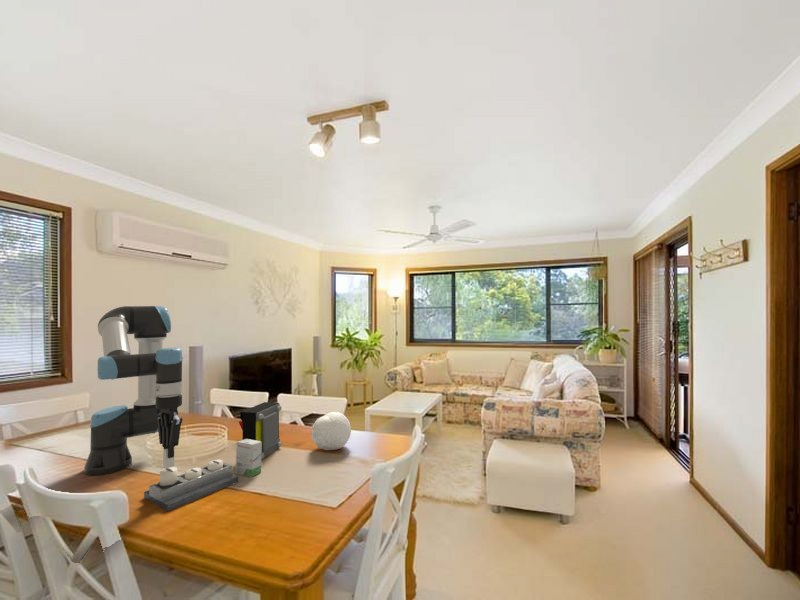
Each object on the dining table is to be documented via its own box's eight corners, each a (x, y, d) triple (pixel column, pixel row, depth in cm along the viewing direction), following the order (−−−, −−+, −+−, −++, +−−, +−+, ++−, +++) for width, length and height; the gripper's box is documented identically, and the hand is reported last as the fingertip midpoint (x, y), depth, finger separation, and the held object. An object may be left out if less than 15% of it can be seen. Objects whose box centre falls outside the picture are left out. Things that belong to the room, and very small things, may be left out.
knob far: (204, 474, 137) (204, 462, 137) (218, 469, 141) (218, 457, 141) (212, 477, 134) (212, 465, 134) (225, 472, 138) (225, 460, 139)
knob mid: (182, 483, 130) (182, 470, 130) (196, 477, 134) (196, 465, 135) (189, 486, 128) (189, 474, 128) (204, 481, 132) (204, 468, 132)
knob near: (156, 483, 124) (156, 470, 124) (172, 477, 128) (173, 465, 128) (164, 487, 121) (164, 473, 121) (180, 481, 125) (180, 468, 125)
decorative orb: (362, 446, 170) (362, 411, 171) (335, 460, 155) (335, 421, 156) (329, 439, 181) (329, 406, 181) (301, 451, 166) (301, 414, 166)
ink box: (235, 473, 144) (235, 442, 144) (246, 468, 149) (245, 437, 149) (251, 477, 140) (251, 445, 141) (262, 471, 145) (262, 440, 145)
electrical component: (260, 462, 154) (260, 413, 155) (238, 460, 157) (238, 411, 157) (283, 447, 171) (283, 402, 172) (263, 445, 174) (263, 402, 174)
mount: (143, 498, 125) (143, 482, 126) (214, 472, 145) (214, 458, 146) (167, 511, 116) (167, 495, 117) (238, 481, 137) (238, 467, 137)
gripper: (147, 395, 126) (147, 466, 125) (166, 399, 119) (166, 475, 118) (171, 391, 132) (171, 459, 131) (190, 394, 125) (190, 467, 124)
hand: (168, 466), depth 125 cm, fingers closed
